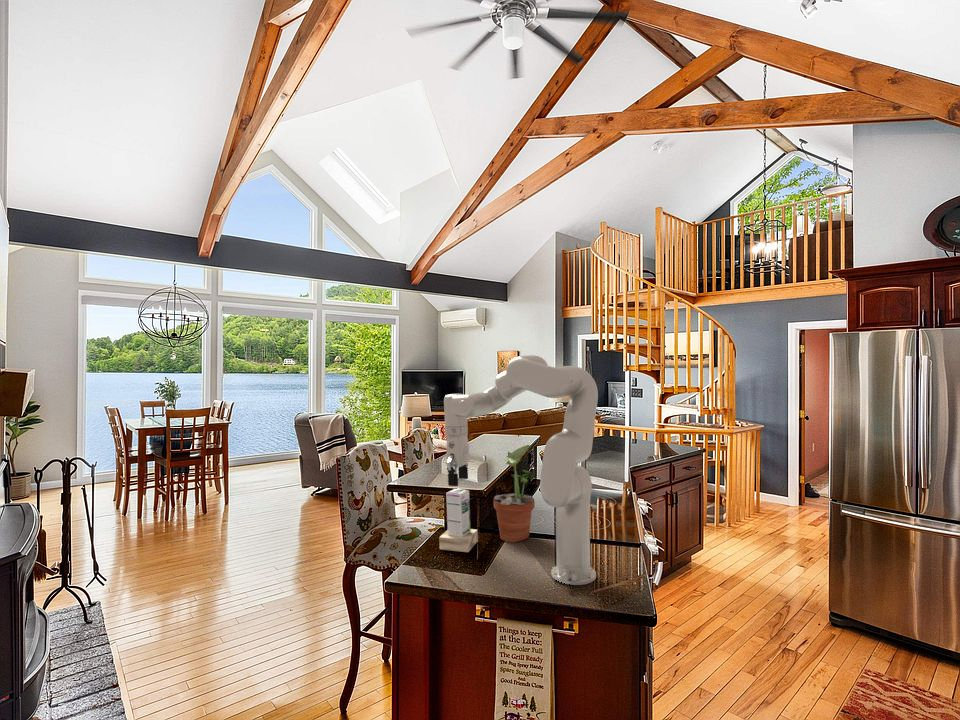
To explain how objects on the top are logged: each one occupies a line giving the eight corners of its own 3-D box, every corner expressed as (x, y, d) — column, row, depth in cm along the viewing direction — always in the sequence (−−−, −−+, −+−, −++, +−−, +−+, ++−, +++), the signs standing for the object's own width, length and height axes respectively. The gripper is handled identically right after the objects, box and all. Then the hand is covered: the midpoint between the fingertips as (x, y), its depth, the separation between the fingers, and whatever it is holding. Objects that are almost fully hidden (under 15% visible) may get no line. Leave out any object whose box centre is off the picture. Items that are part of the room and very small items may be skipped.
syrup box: (462, 537, 170) (461, 493, 170) (446, 535, 173) (445, 491, 173) (471, 532, 175) (469, 489, 175) (456, 529, 178) (455, 487, 178)
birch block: (468, 552, 168) (467, 540, 168) (439, 549, 172) (439, 537, 171) (477, 541, 178) (477, 529, 178) (450, 538, 181) (450, 527, 181)
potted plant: (545, 534, 182) (543, 435, 182) (518, 547, 171) (516, 441, 171) (511, 525, 193) (509, 431, 192) (483, 536, 182) (481, 436, 181)
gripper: (458, 435, 165) (460, 489, 165) (475, 427, 181) (477, 476, 181) (436, 435, 167) (438, 488, 167) (455, 427, 183) (456, 475, 183)
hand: (458, 482), depth 174 cm, fingers open, 9 cm apart
